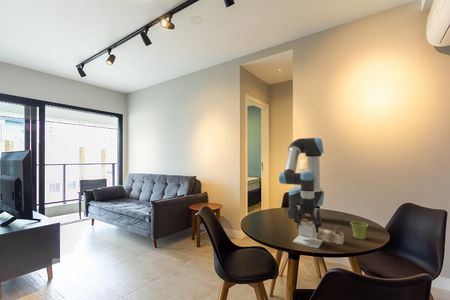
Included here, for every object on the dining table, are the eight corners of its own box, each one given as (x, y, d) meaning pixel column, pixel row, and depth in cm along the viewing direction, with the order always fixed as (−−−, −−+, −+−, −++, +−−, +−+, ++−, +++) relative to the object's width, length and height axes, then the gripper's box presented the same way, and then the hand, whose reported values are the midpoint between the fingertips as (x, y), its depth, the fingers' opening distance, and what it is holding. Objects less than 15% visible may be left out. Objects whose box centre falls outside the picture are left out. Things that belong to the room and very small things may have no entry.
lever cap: (303, 229, 135) (303, 220, 135) (316, 232, 130) (316, 222, 130) (298, 234, 128) (298, 224, 128) (312, 237, 123) (312, 226, 123)
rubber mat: (292, 242, 129) (292, 241, 129) (298, 236, 138) (298, 235, 138) (318, 248, 120) (318, 247, 120) (322, 241, 129) (322, 240, 129)
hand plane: (299, 235, 139) (299, 219, 139) (302, 232, 144) (302, 217, 144) (342, 244, 125) (342, 227, 125) (343, 241, 130) (343, 224, 130)
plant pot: (347, 235, 140) (347, 221, 140) (361, 234, 141) (361, 221, 141) (357, 241, 130) (357, 226, 131) (372, 240, 131) (372, 225, 131)
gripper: (287, 196, 132) (288, 234, 132) (325, 201, 120) (325, 242, 120) (292, 194, 138) (292, 230, 138) (327, 198, 126) (328, 238, 126)
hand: (307, 236), depth 129 cm, fingers closed on lever cap, 8 cm apart
